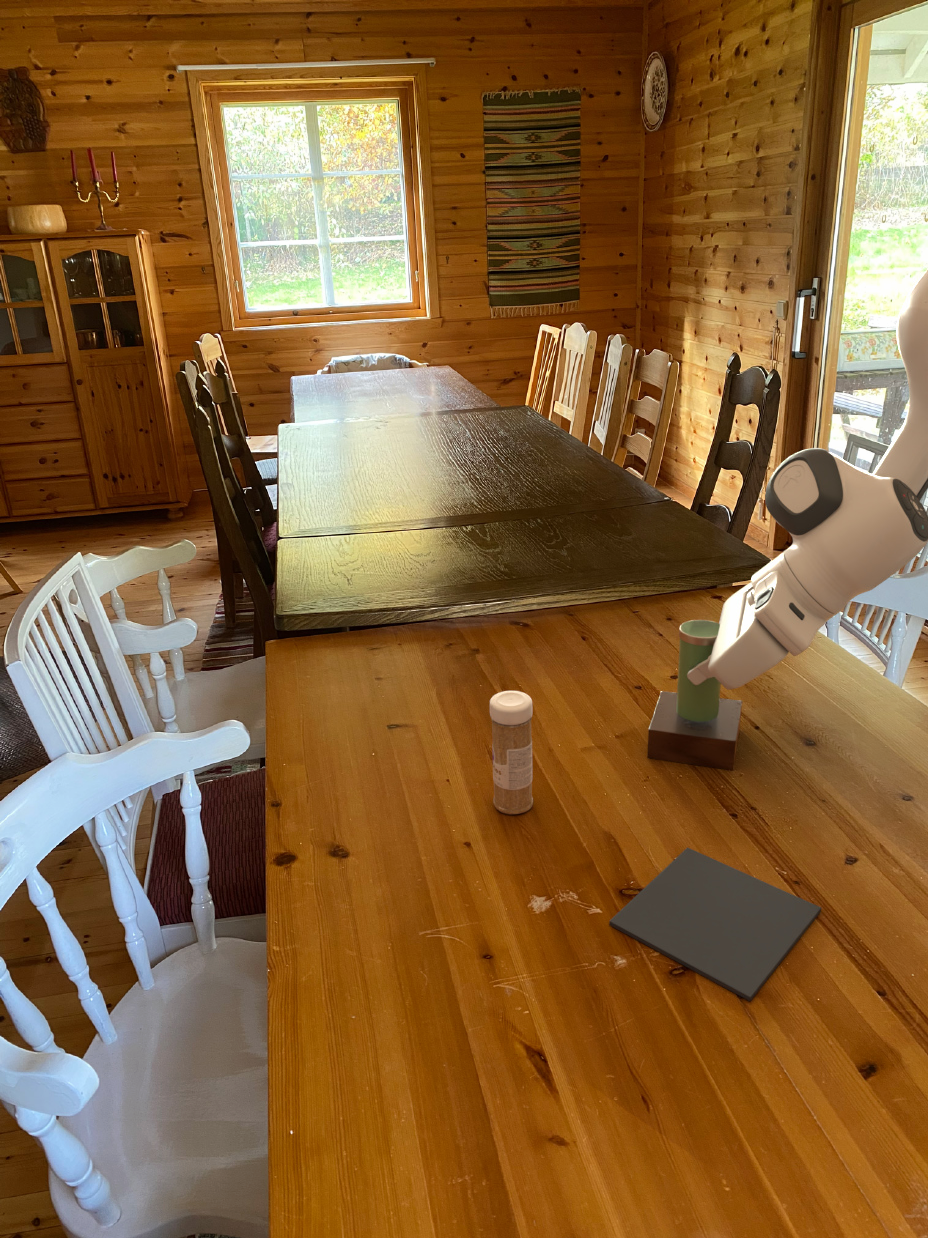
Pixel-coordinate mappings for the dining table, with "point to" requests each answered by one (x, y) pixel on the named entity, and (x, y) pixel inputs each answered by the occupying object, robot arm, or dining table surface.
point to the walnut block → (694, 734)
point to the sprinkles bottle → (512, 751)
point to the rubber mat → (717, 921)
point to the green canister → (692, 649)
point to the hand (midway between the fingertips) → (694, 666)
